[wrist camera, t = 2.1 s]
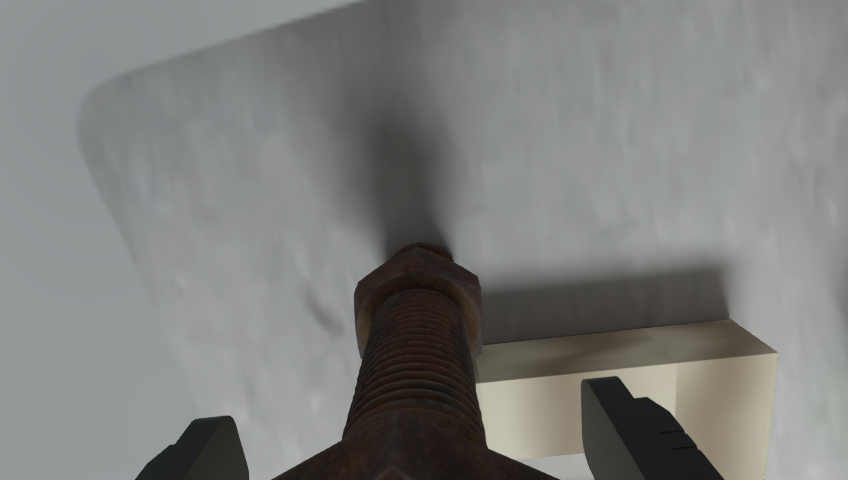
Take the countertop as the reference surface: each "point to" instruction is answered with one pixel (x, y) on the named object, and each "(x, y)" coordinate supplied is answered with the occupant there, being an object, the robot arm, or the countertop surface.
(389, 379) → the bolt
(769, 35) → the countertop surface
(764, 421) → the frame
